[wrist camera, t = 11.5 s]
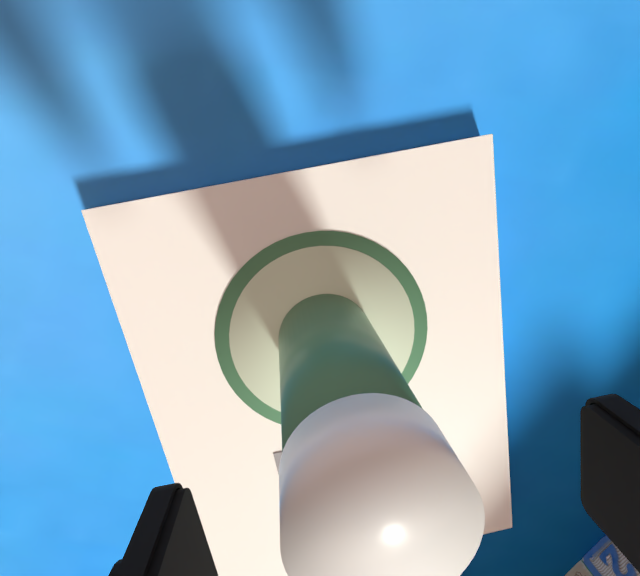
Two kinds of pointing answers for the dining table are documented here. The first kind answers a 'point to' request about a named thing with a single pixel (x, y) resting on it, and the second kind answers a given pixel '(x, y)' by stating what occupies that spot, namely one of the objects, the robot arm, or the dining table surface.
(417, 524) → the marker
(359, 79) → the dining table surface
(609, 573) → the stack of blocks
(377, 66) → the dining table surface
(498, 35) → the dining table surface
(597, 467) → the robot arm
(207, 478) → the activity sheet
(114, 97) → the dining table surface
